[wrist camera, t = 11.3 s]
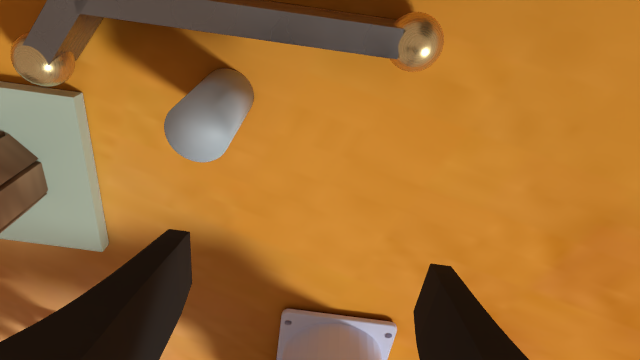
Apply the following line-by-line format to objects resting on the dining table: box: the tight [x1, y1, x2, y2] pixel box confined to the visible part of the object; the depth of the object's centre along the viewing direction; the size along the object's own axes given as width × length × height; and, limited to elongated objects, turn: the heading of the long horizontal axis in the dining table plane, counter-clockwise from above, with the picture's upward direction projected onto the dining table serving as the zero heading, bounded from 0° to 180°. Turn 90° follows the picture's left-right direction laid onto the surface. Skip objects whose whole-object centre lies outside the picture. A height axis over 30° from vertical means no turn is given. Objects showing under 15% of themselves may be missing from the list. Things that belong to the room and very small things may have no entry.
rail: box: [11, 0, 444, 86], centre depth 18 cm, size 6×19×3 cm, turn 83°
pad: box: [0, 81, 109, 252], centre depth 22 cm, size 10×10×1 cm
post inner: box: [164, 68, 254, 162], centre depth 18 cm, size 3×3×5 cm
